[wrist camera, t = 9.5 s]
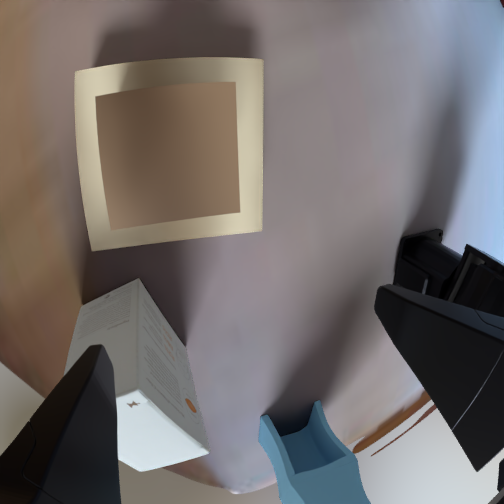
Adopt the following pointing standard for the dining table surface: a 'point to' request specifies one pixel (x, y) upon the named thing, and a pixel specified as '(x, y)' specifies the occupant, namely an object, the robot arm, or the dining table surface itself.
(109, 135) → the walnut cube
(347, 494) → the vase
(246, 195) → the cream square block
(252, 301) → the dining table surface
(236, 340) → the dining table surface
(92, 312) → the small box
